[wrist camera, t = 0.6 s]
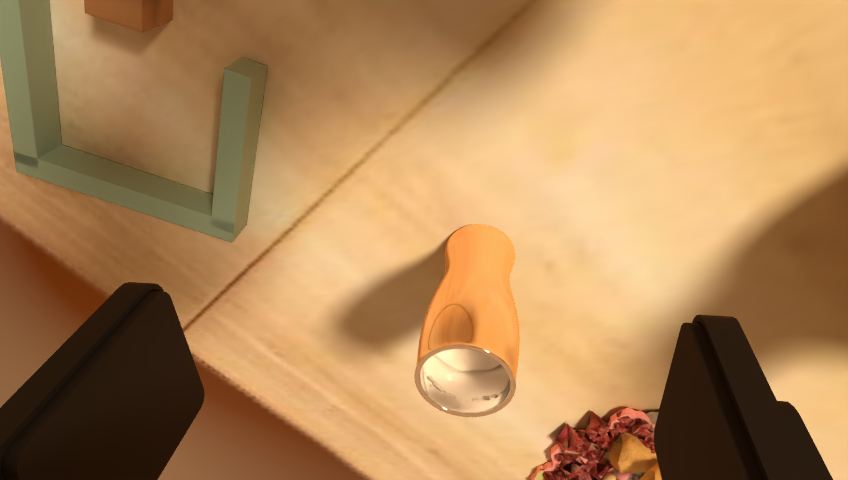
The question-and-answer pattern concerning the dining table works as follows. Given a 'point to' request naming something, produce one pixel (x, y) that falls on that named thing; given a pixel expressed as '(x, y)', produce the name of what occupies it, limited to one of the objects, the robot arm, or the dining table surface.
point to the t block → (132, 12)
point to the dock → (79, 171)
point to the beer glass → (471, 327)
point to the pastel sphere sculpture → (605, 450)
